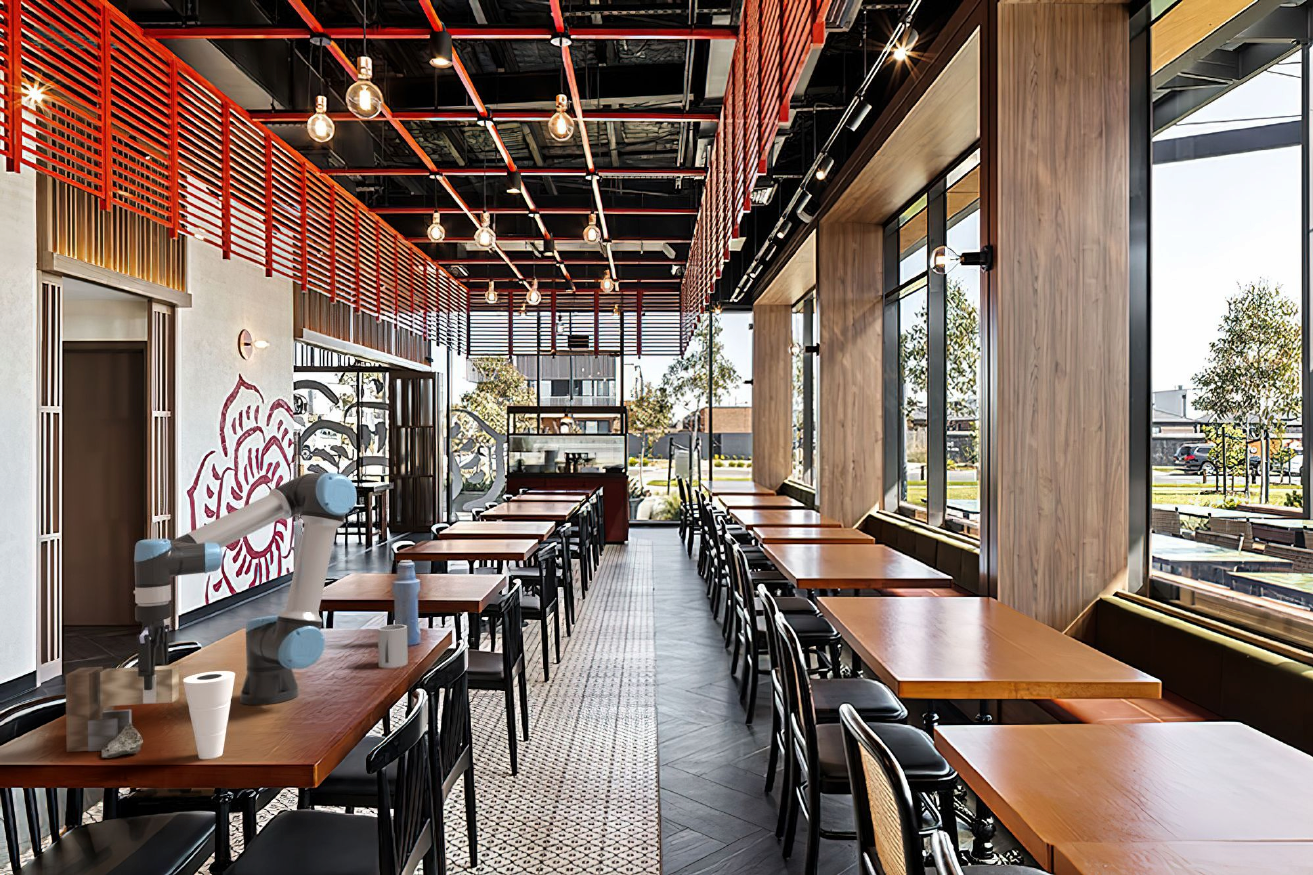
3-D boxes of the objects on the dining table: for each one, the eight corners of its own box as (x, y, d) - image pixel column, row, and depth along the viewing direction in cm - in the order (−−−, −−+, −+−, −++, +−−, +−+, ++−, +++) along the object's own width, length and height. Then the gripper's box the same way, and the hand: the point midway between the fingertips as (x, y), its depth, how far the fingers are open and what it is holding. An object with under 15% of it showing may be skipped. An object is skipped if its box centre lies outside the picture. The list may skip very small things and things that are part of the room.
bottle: (395, 641, 318) (393, 559, 318) (423, 640, 319) (421, 558, 319) (390, 647, 308) (388, 562, 309) (418, 646, 309) (417, 561, 310)
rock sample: (85, 740, 201) (118, 710, 205) (107, 752, 207) (140, 723, 210) (101, 767, 196) (135, 737, 199) (124, 779, 201) (157, 749, 205)
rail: (178, 697, 214) (178, 665, 214) (172, 702, 210) (172, 669, 210) (105, 701, 211) (105, 668, 212) (97, 706, 207) (97, 672, 208)
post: (146, 727, 222) (145, 656, 223) (115, 749, 206) (114, 672, 206) (99, 730, 221) (98, 659, 221) (65, 752, 204) (64, 675, 204)
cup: (407, 659, 289) (406, 623, 290) (408, 666, 281) (407, 628, 281) (378, 662, 286) (377, 626, 287) (378, 669, 278) (378, 631, 278)
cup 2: (195, 767, 193) (193, 685, 193) (177, 756, 200) (175, 678, 200) (244, 754, 201) (243, 675, 201) (225, 744, 208) (223, 668, 208)
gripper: (151, 598, 219) (152, 691, 219) (120, 610, 203) (121, 711, 202) (183, 596, 221) (184, 689, 220) (154, 608, 204) (155, 709, 203)
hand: (154, 699), depth 211 cm, fingers closed on rail, 4 cm apart
